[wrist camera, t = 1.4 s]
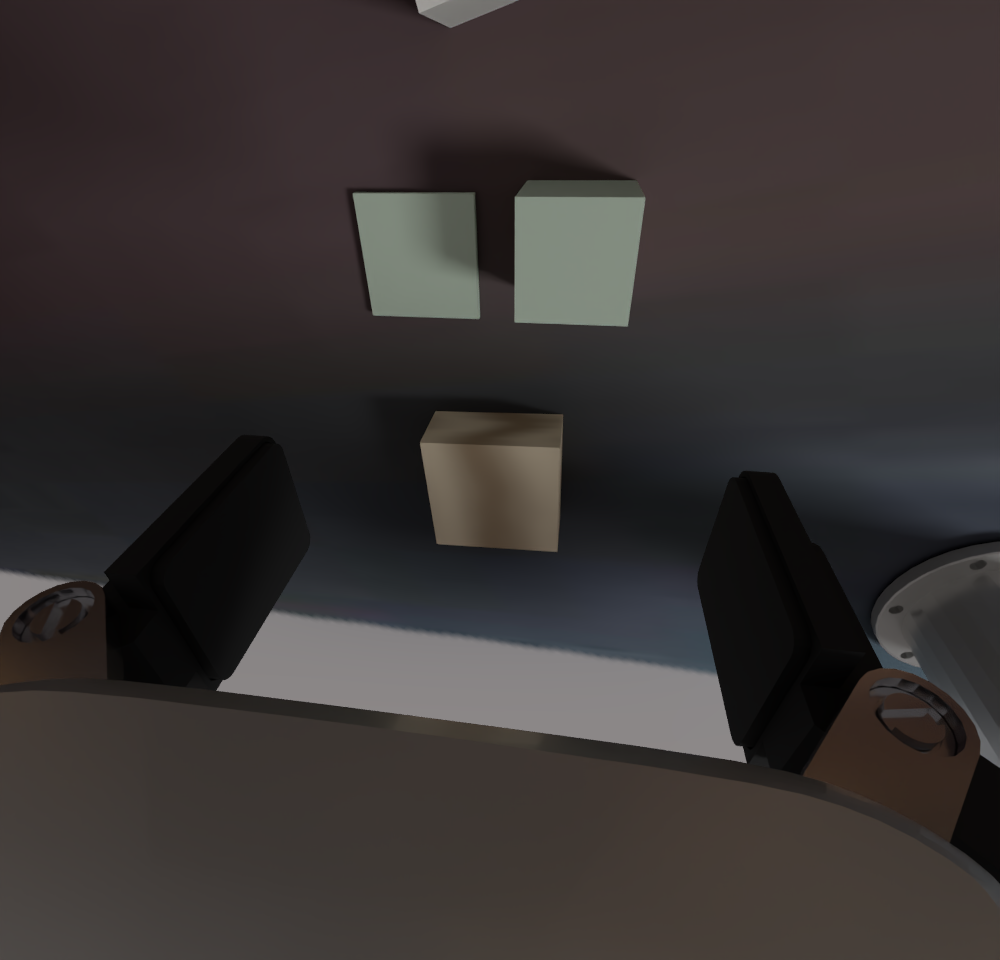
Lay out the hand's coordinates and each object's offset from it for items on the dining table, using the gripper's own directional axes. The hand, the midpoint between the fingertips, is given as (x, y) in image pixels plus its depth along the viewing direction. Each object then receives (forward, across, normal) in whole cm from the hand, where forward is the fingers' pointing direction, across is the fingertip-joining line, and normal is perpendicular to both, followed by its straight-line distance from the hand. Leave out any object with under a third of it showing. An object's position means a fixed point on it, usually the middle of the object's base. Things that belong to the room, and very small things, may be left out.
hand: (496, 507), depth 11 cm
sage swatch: (+19, +7, 0) cm, 20 cm away
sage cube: (+19, -1, -1) cm, 19 cm away
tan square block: (+19, +2, +13) cm, 23 cm away
